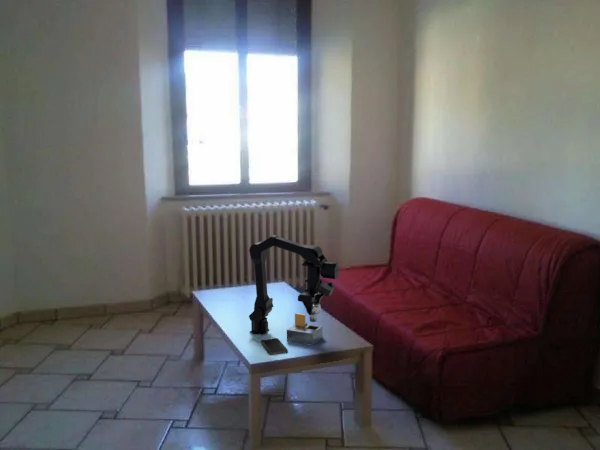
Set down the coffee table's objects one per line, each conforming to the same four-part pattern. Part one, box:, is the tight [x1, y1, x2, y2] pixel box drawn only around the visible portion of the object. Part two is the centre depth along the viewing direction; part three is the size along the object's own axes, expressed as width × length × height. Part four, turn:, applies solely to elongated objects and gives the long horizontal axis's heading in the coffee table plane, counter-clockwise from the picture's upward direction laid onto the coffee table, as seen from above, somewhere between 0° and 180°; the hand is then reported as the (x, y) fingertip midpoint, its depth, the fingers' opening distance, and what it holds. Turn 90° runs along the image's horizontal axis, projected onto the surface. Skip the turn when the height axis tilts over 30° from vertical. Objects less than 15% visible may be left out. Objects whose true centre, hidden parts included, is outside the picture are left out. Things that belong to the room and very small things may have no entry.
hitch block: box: [286, 323, 323, 346], centre depth 247 cm, size 12×10×5 cm
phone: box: [259, 337, 289, 356], centre depth 239 cm, size 8×1×15 cm
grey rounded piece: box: [305, 303, 322, 323], centre depth 246 cm, size 6×6×7 cm
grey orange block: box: [294, 312, 308, 326], centre depth 250 cm, size 4×3×5 cm, turn 65°
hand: (313, 312), depth 246 cm, fingers closed on grey rounded piece, 6 cm apart
